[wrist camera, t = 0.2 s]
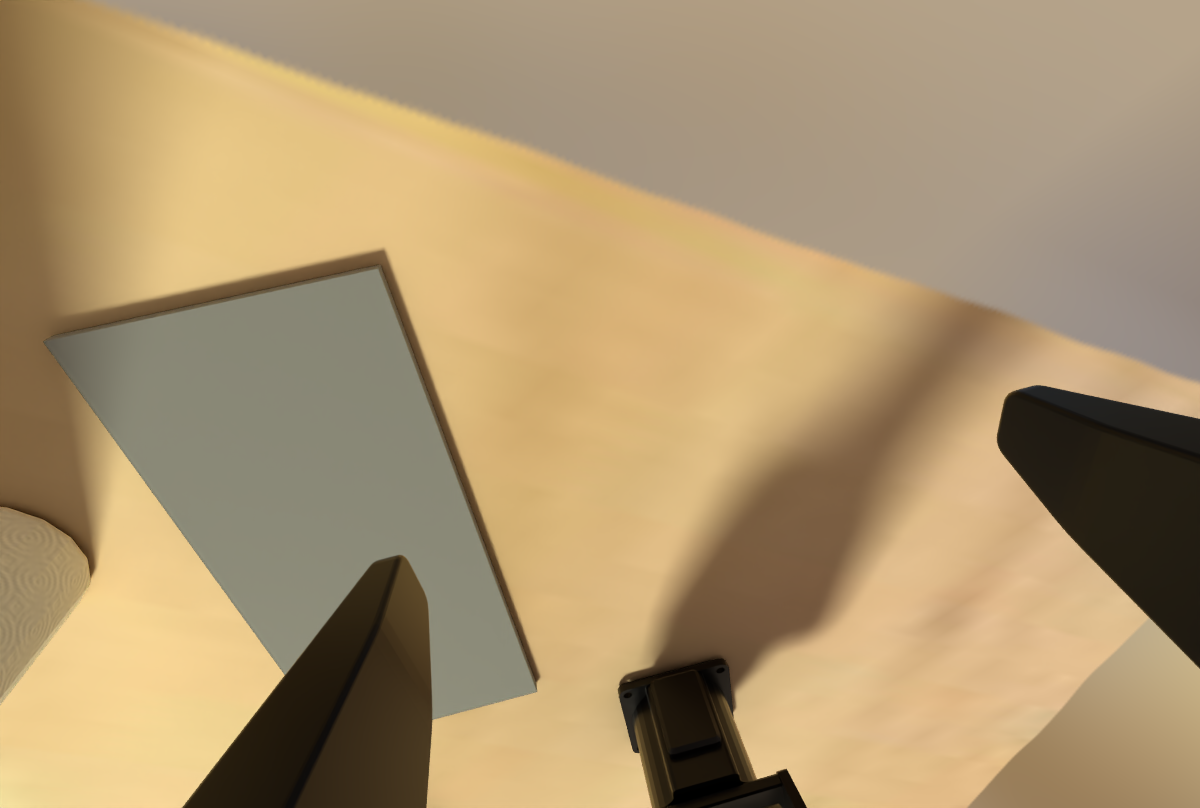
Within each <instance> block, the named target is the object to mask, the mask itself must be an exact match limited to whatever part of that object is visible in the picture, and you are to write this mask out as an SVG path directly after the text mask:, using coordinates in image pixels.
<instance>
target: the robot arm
mask: <svg viewBox="0 0 1200 808" xmlns="http://www.w3.org/2000/svg"><path fill="white" fill-rule="evenodd" d="M997 443H998V447H999V449H1000V451H1001V453H1002V454H1003V455H1004V457H1005V458H1006V459H1007V460H1008V462H1009V463H1010V464H1011V465H1012V466H1013V468H1014V469H1015V470H1016V471H1017V473H1018V474H1019V475H1020V476H1021V478H1022V479H1023V480H1024V481H1025V482H1026V484H1027V485H1028V486H1029V487H1030V489H1031V490H1032V491H1033V492H1034V494H1035V495H1036V496H1037V497H1038V498H1039V500H1040V501H1041V502H1042V503H1043V505H1044V506H1045V507H1046V508H1047V510H1048V511H1049V512H1050V513H1051V514H1052V516H1053V517H1054V518H1055V519H1056V521H1057V522H1058V523H1059V524H1060V525H1061V527H1062V528H1063V529H1064V530H1065V531H1066V532H1067V534H1068V535H1069V536H1070V537H1071V538H1072V539H1073V540H1074V541H1075V542H1076V543H1077V544H1078V545H1079V546H1080V547H1081V549H1082V550H1083V551H1084V552H1085V553H1086V554H1087V555H1088V556H1089V557H1090V558H1091V559H1092V560H1093V561H1094V562H1095V563H1096V564H1097V565H1098V566H1099V567H1100V568H1101V569H1102V570H1103V571H1104V572H1105V573H1106V574H1107V575H1108V576H1109V577H1110V578H1111V579H1112V580H1113V581H1114V582H1115V583H1116V584H1117V585H1118V586H1119V587H1120V588H1121V589H1122V590H1123V591H1124V592H1125V593H1126V594H1127V595H1128V596H1129V597H1130V598H1131V599H1132V600H1133V601H1134V602H1135V603H1136V604H1137V606H1138V607H1139V608H1140V609H1141V610H1142V611H1143V612H1144V613H1145V614H1146V615H1147V616H1148V617H1149V618H1150V619H1151V620H1152V621H1153V622H1154V623H1155V624H1156V625H1157V626H1158V627H1159V628H1160V629H1161V630H1162V631H1163V632H1164V633H1165V634H1166V635H1167V636H1168V637H1169V638H1170V639H1171V640H1172V641H1173V642H1174V643H1175V644H1176V645H1177V646H1178V647H1179V648H1180V649H1181V650H1182V651H1183V652H1184V653H1185V654H1186V655H1187V656H1188V657H1189V658H1190V659H1191V660H1192V661H1193V662H1194V663H1195V664H1196V665H1197V667H1199V668H1200V419H1198V418H1193V417H1188V416H1184V415H1179V414H1174V413H1169V412H1165V411H1160V410H1155V409H1150V408H1146V407H1141V406H1136V405H1132V404H1127V403H1122V402H1117V401H1113V400H1108V399H1103V398H1099V397H1094V396H1089V395H1084V394H1080V393H1075V392H1070V391H1066V390H1061V389H1056V388H1051V387H1047V386H1041V385H1036V386H1031V387H1027V388H1023V389H1019V390H1016V391H1013V392H1011V393H1009V394H1008V395H1007V397H1006V398H1005V400H1004V404H1003V409H1002V413H1001V418H1000V423H999V428H998V433H997ZM618 694H619V699H620V702H621V706H622V710H623V714H624V718H625V722H626V726H627V729H628V733H629V737H630V741H631V745H632V749H633V751H634V752H635V753H640V757H641V761H642V766H643V770H644V774H645V779H646V783H647V788H648V792H649V796H650V801H651V805H652V808H807V807H806V805H805V803H804V801H803V799H802V797H801V795H800V794H799V792H798V790H797V788H796V786H795V784H794V782H793V780H792V778H791V776H790V774H789V773H788V771H787V769H784V770H780V771H777V772H776V774H774V775H771V776H767V777H764V778H760V779H757V778H756V776H755V773H754V770H753V768H752V765H751V763H750V760H749V757H748V755H747V752H746V750H745V747H744V744H743V742H742V739H741V737H740V734H739V731H738V729H737V726H736V724H735V721H734V717H733V707H732V696H731V685H730V675H729V667H728V665H727V662H726V660H724V659H716V660H712V661H708V662H705V663H701V664H697V665H693V666H690V667H686V668H682V669H678V670H675V671H671V672H667V673H664V674H660V675H656V676H652V677H649V678H645V679H641V680H637V681H634V682H630V683H626V684H623V685H621V686H620V687H619V688H618ZM432 713H433V712H432V679H431V656H430V632H429V609H428V602H427V597H426V594H425V592H424V590H423V588H422V586H421V584H420V582H419V580H418V578H417V576H416V574H415V572H414V571H413V569H412V567H411V565H410V563H409V561H408V560H407V558H406V557H405V556H403V555H395V556H392V557H388V558H384V559H380V560H377V561H375V562H373V563H372V564H371V565H370V566H369V568H368V569H367V570H366V571H365V573H364V574H363V575H362V577H361V578H360V579H359V580H358V582H357V583H356V584H355V586H354V587H353V588H352V589H351V591H350V592H349V593H348V595H347V596H346V597H345V598H344V600H343V601H342V602H341V604H340V605H339V606H338V608H337V609H336V610H335V611H334V613H333V614H332V615H331V617H330V618H329V619H328V620H327V622H326V623H325V624H324V626H323V627H322V628H321V629H320V631H319V632H318V633H317V635H316V636H315V637H314V638H313V640H312V641H311V642H310V644H309V645H308V646H307V647H306V649H305V650H304V651H303V653H302V654H301V655H300V656H299V658H298V659H297V660H296V662H295V663H294V664H293V666H292V667H291V668H290V669H289V671H288V672H287V673H286V675H285V676H284V677H283V678H282V680H281V681H280V682H279V684H278V685H277V686H276V687H275V689H274V690H273V691H272V693H271V694H270V695H269V696H268V698H267V699H266V700H265V702H264V703H263V704H262V705H261V707H260V708H259V709H258V711H257V712H256V713H255V715H254V716H253V717H252V718H251V720H250V721H249V722H248V724H247V725H246V726H245V727H244V729H243V730H242V731H241V733H240V734H239V735H238V736H237V738H236V739H235V740H234V742H233V743H232V744H231V745H230V747H229V748H228V749H227V751H226V752H225V753H224V754H223V756H222V757H221V758H220V760H219V761H218V762H217V763H216V765H215V766H214V767H213V769H212V770H211V771H210V773H209V774H208V775H207V776H206V778H205V779H204V780H203V782H202V783H201V784H200V785H199V787H198V788H197V789H196V791H195V792H194V793H193V794H192V796H191V797H190V798H189V800H188V801H187V802H186V803H185V805H184V806H183V807H182V808H426V804H427V790H428V776H429V762H430V748H431V734H432Z"/></svg>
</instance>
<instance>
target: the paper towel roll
mask: <svg viewBox="0 0 1200 808" xmlns="http://www.w3.org/2000/svg"><path fill="white" fill-rule="evenodd" d="M90 580H91V579H90V572H89V565H88V559H87V558H86V556H85V555H84V554H83V552H82V551H81V550H80V548H79V547H78V546H77V545H76V543H75V542H74V541H73V539H72V538H71V537H69V536H68V535H66V534H65V533H63V532H62V531H60V530H59V529H57V528H56V527H54V526H52V525H51V524H49V523H48V522H46V521H45V520H43V519H40V518H37V517H34V516H31V515H28V514H25V513H22V512H19V511H16V510H13V509H10V508H7V507H0V705H1V704H2V702H3V701H4V700H5V699H6V697H7V696H8V695H9V693H10V692H11V691H12V689H13V688H14V687H15V686H16V684H17V683H18V682H19V680H20V679H21V678H22V677H23V675H24V674H25V673H26V671H27V670H28V669H29V667H30V666H31V665H32V664H33V662H34V661H35V660H36V658H37V657H38V656H39V655H40V653H41V652H42V651H43V649H44V648H45V647H46V645H47V644H48V643H49V642H50V640H51V639H52V638H53V636H54V635H55V634H56V632H57V631H58V630H59V629H60V627H61V626H62V625H63V623H64V622H65V621H66V620H67V618H68V617H69V616H70V614H71V613H72V612H73V610H74V609H75V608H76V607H77V605H78V604H79V603H80V601H81V599H82V597H83V595H84V594H85V592H86V590H87V588H88V586H89V584H90Z"/></svg>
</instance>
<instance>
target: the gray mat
mask: <svg viewBox="0 0 1200 808" xmlns="http://www.w3.org/2000/svg"><path fill="white" fill-rule="evenodd" d="M43 342H44V344H45V345H46V346H47V348H48V349H49V351H50V352H51V353H52V355H53V356H54V358H55V359H56V360H57V362H58V363H59V364H60V366H61V367H62V369H63V370H64V371H65V373H66V374H67V375H68V377H69V378H70V380H71V381H72V382H73V384H74V385H75V386H76V388H77V389H78V391H79V392H80V393H81V395H82V396H83V398H84V399H85V400H86V402H87V403H88V404H89V406H90V407H91V409H92V410H93V411H94V413H95V414H96V415H97V417H98V418H99V420H100V421H101V422H102V424H103V425H104V426H105V428H106V429H107V431H108V432H109V433H110V435H111V436H112V437H113V439H114V440H115V442H116V443H117V444H118V446H119V447H120V449H121V450H122V451H123V453H124V454H125V455H126V457H127V458H128V460H129V461H130V462H131V464H132V465H133V466H134V468H135V469H136V471H137V472H138V473H139V475H140V476H141V477H142V479H143V480H144V482H145V483H146V484H147V486H148V487H149V488H150V490H151V491H152V493H153V494H154V495H155V497H156V498H157V500H158V501H159V502H160V504H161V505H162V506H163V508H164V509H165V511H166V512H167V513H168V515H169V516H170V517H171V519H172V520H173V522H174V523H175V524H176V526H177V527H178V528H179V530H180V531H181V533H182V534H183V535H184V537H185V538H186V539H187V541H188V542H189V544H190V545H191V546H192V548H193V549H194V551H195V552H196V553H197V555H198V556H199V557H200V559H201V560H202V562H203V563H204V564H205V566H206V567H207V568H208V570H209V571H210V573H211V574H212V575H213V577H214V578H215V579H216V581H217V582H218V584H219V585H220V586H221V588H222V589H223V590H224V592H225V593H226V595H227V596H228V597H229V599H230V600H231V602H232V603H233V604H234V606H235V607H236V608H237V610H238V611H239V613H240V614H241V615H242V617H243V618H244V619H245V621H246V622H247V624H248V625H249V626H250V628H251V629H252V630H253V632H254V633H255V635H256V636H257V637H258V639H259V640H260V641H261V643H262V644H263V646H264V647H265V648H266V650H267V651H268V653H269V654H270V655H271V657H272V658H273V659H274V661H275V662H276V664H277V665H278V666H279V668H280V669H281V670H282V672H283V673H284V675H286V673H287V672H288V671H289V669H290V668H291V667H292V666H293V664H294V663H295V662H296V660H297V659H298V658H299V656H300V655H301V654H302V653H303V651H304V650H305V649H306V647H307V646H308V645H309V644H310V642H311V641H312V640H313V638H314V637H315V636H316V635H317V633H318V632H319V631H320V629H321V628H322V627H323V626H324V624H325V623H326V622H327V620H328V619H329V618H330V617H331V615H332V614H333V613H334V611H335V610H336V609H337V608H338V606H339V605H340V604H341V602H342V601H343V600H344V598H345V597H346V596H347V595H348V593H349V592H350V591H351V589H352V588H353V587H354V586H355V584H356V583H357V582H358V580H359V579H360V578H361V577H362V575H363V574H364V573H365V571H366V570H367V569H368V568H369V566H370V565H371V564H372V563H373V562H375V561H377V560H380V559H384V558H388V557H392V556H395V555H403V556H405V557H406V558H407V560H408V561H409V563H410V565H411V567H412V569H413V571H414V572H415V574H416V576H417V578H418V580H419V582H420V584H421V586H422V588H423V590H424V592H425V594H426V597H427V602H428V609H429V632H430V656H431V679H432V712H433V713H432V720H434V719H437V718H441V717H445V716H449V715H452V714H456V713H460V712H464V711H467V710H471V709H475V708H479V707H482V706H486V705H490V704H494V703H497V702H501V701H505V700H509V699H512V698H516V697H520V696H524V695H528V694H531V693H535V692H537V684H536V681H535V678H534V676H533V673H532V670H531V668H530V665H529V662H528V660H527V657H526V654H525V652H524V649H523V646H522V644H521V641H520V638H519V636H518V633H517V630H516V627H515V625H514V622H513V619H512V617H511V614H510V611H509V609H508V606H507V603H506V601H505V598H504V595H503V593H502V590H501V587H500V585H499V582H498V579H497V576H496V574H495V571H494V568H493V566H492V563H491V560H490V558H489V555H488V552H487V550H486V547H485V544H484V542H483V539H482V536H481V534H480V531H479V528H478V525H477V523H476V520H475V517H474V515H473V512H472V509H471V507H470V504H469V501H468V499H467V496H466V493H465V491H464V488H463V485H462V483H461V480H460V477H459V474H458V472H457V469H456V466H455V464H454V461H453V458H452V456H451V453H450V450H449V448H448V445H447V442H446V440H445V437H444V434H443V431H442V429H441V426H440V423H439V421H438V418H437V415H436V413H435V410H434V407H433V405H432V402H431V399H430V397H429V394H428V391H427V389H426V386H425V383H424V380H423V378H422V375H421V372H420V370H419V367H418V364H417V362H416V359H415V356H414V354H413V351H412V348H411V346H410V343H409V340H408V338H407V335H406V332H405V329H404V327H403V324H402V321H401V319H400V316H399V313H398V311H397V308H396V305H395V303H394V300H393V297H392V295H391V292H390V289H389V287H388V284H387V281H386V278H385V276H384V273H383V270H382V268H381V265H376V266H371V267H367V268H362V269H357V270H353V271H348V272H344V273H339V274H334V275H330V276H325V277H321V278H316V279H311V280H307V281H302V282H298V283H293V284H289V285H284V286H279V287H275V288H270V289H266V290H261V291H256V292H252V293H247V294H243V295H238V296H233V297H229V298H224V299H220V300H215V301H210V302H206V303H201V304H197V305H192V306H187V307H183V308H178V309H174V310H169V311H164V312H160V313H155V314H151V315H146V316H141V317H137V318H132V319H128V320H123V321H119V322H114V323H109V324H105V325H100V326H96V327H91V328H86V329H82V330H77V331H73V332H68V333H63V334H59V335H54V336H52V337H50V338H48V339H47V340H45V341H43Z"/></svg>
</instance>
